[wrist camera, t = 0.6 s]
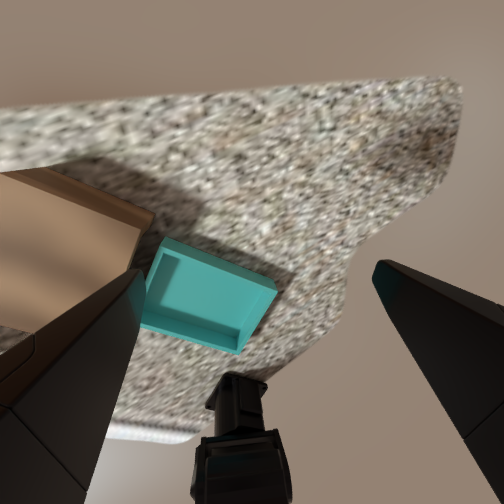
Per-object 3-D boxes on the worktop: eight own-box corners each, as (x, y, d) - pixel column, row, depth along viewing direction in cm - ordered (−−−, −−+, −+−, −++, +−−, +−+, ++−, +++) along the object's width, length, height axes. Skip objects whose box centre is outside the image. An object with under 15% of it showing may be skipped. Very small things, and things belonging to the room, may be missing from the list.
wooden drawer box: (116, 316, 26) (97, 349, 22) (19, 288, 24) (-24, 319, 19) (155, 213, 22) (140, 229, 18) (44, 166, 20) (-2, 172, 16)
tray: (237, 339, 29) (238, 355, 27) (135, 308, 26) (128, 323, 24) (273, 279, 27) (278, 291, 25) (165, 236, 23) (159, 245, 21)
